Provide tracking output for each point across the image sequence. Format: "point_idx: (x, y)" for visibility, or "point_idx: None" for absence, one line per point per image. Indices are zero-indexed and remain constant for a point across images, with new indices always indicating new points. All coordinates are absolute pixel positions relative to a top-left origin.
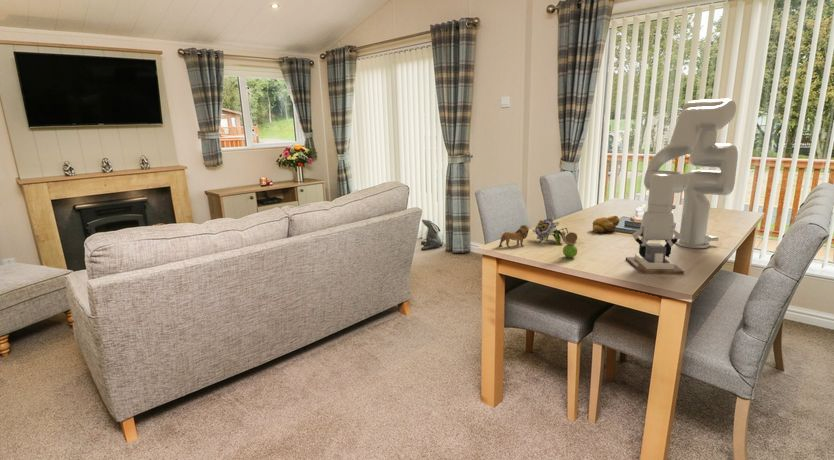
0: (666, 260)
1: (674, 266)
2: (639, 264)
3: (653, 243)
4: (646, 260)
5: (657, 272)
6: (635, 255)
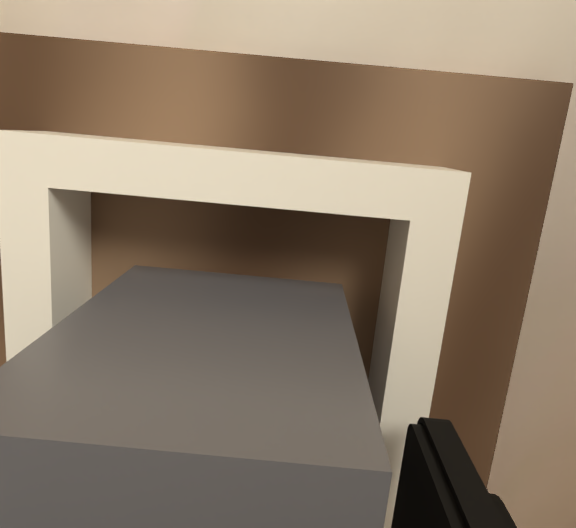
0: None
1: None
2: None
3: (179, 489)
4: None
5: None
6: (10, 159)
